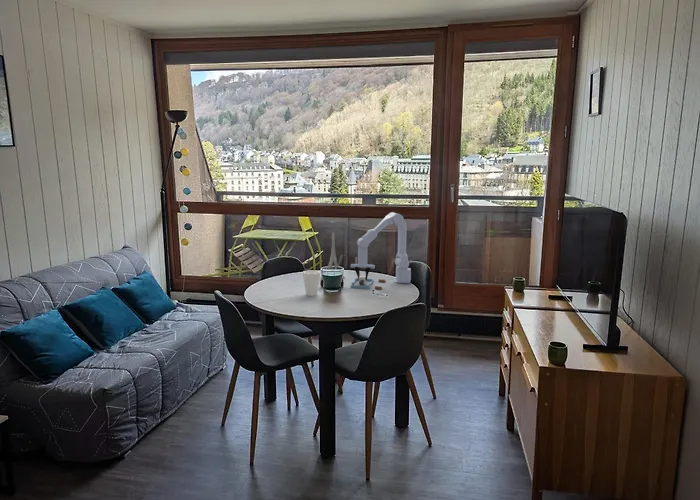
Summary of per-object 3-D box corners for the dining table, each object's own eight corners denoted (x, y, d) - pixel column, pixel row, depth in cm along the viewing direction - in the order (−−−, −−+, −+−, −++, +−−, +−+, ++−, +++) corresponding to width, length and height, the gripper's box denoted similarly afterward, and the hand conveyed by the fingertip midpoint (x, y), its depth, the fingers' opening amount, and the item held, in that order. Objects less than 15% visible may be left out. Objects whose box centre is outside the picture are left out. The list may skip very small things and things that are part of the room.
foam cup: (317, 297, 278) (317, 274, 276) (301, 296, 280) (300, 273, 278) (321, 292, 287) (321, 270, 285) (306, 291, 289) (305, 269, 287)
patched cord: (367, 280, 312) (367, 274, 311) (364, 285, 300) (364, 278, 299) (360, 280, 312) (360, 274, 311) (357, 285, 301) (357, 278, 300)
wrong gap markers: (385, 281, 314) (385, 279, 313) (381, 289, 294) (381, 287, 294) (379, 281, 314) (379, 279, 314) (374, 289, 295) (374, 286, 295)
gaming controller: (344, 286, 302) (344, 270, 300) (343, 288, 296) (343, 272, 294) (321, 285, 303) (321, 269, 302) (319, 288, 297) (319, 271, 296)
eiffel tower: (321, 275, 332) (321, 230, 327) (341, 274, 334) (341, 230, 329) (324, 279, 319) (324, 233, 314) (345, 278, 321) (345, 232, 316)
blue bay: (373, 281, 315) (373, 277, 314) (369, 288, 296) (369, 285, 296) (356, 280, 317) (356, 277, 316) (350, 287, 298) (350, 284, 298)
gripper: (349, 258, 301) (349, 280, 303) (373, 259, 298) (373, 281, 301) (351, 256, 308) (351, 277, 310) (375, 257, 305) (374, 278, 307)
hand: (362, 279), depth 306 cm, fingers closed on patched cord, 4 cm apart
